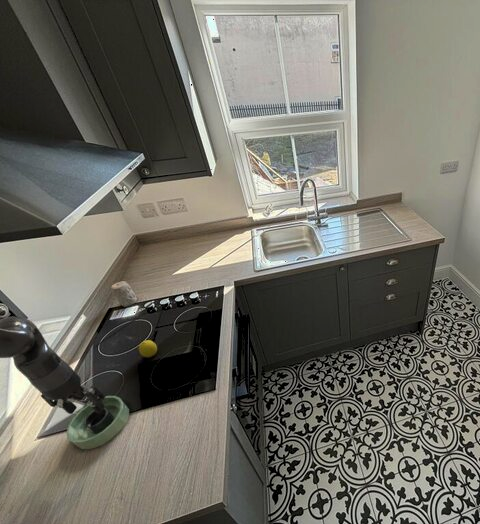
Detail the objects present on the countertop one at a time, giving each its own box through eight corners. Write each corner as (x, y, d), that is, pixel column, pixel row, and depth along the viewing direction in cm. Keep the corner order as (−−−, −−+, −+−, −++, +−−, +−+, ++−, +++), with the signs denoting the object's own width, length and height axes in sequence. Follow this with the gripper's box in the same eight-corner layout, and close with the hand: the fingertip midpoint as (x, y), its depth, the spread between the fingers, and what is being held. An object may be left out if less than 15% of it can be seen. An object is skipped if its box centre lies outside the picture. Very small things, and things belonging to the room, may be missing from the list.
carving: (120, 310, 138) (106, 290, 131) (126, 299, 144) (114, 280, 138) (134, 307, 139) (122, 288, 132) (140, 297, 145) (128, 278, 138)
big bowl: (72, 460, 85) (62, 452, 82) (80, 418, 95) (71, 410, 92) (129, 433, 90) (121, 425, 88) (130, 396, 101) (123, 388, 98)
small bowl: (90, 439, 89) (81, 431, 86) (93, 421, 93) (85, 414, 91) (113, 428, 91) (106, 420, 89) (115, 411, 96) (108, 404, 93)
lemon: (161, 348, 118) (153, 334, 113) (158, 359, 113) (149, 345, 109) (146, 352, 116) (137, 338, 112) (143, 363, 112) (133, 349, 108)
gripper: (15, 392, 76) (53, 424, 85) (69, 390, 75) (102, 422, 84) (40, 367, 82) (73, 399, 91) (90, 365, 82) (118, 398, 91)
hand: (87, 410), depth 88 cm, fingers open, 8 cm apart
